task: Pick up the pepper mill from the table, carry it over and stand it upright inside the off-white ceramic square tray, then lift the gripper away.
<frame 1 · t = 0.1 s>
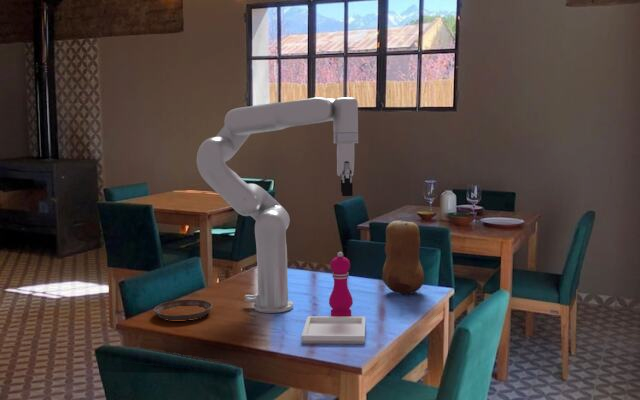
hand: (346, 193, 206), 37 cm above the table, tool pointing down, fingers open, 9 cm apart
plant saucer: (183, 316, 208), on the table
butternut squash: (403, 293, 228), on the table
pepper mill: (341, 316, 204), on the table
tray: (334, 333, 188), on the table
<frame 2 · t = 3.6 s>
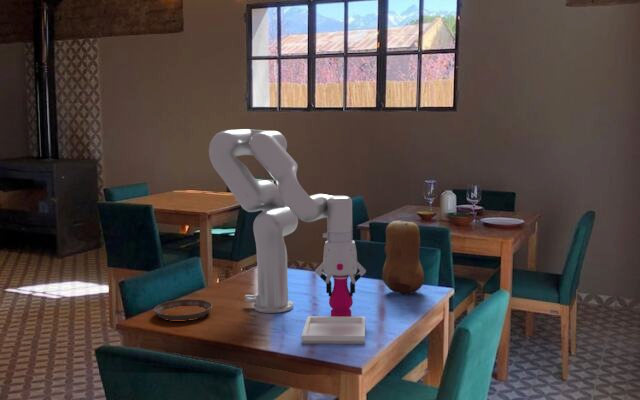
hand: (340, 294, 203), 7 cm above the table, tool pointing down, fingers closed on pepper mill, 5 cm apart
pepper mill: (341, 316, 204), on the table, touching gripper
everything else where it was.
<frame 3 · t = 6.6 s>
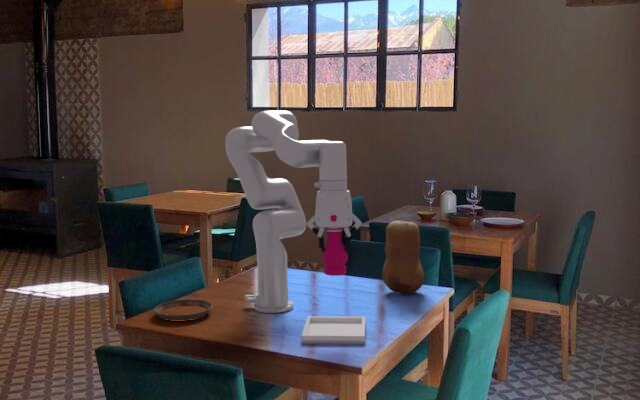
hand: (334, 249, 186), 24 cm above the table, tool pointing down, fingers closed on pepper mill, 5 cm apart
pepper mill: (335, 273, 187), point 17 cm above the table, touching gripper
everything else where it was.
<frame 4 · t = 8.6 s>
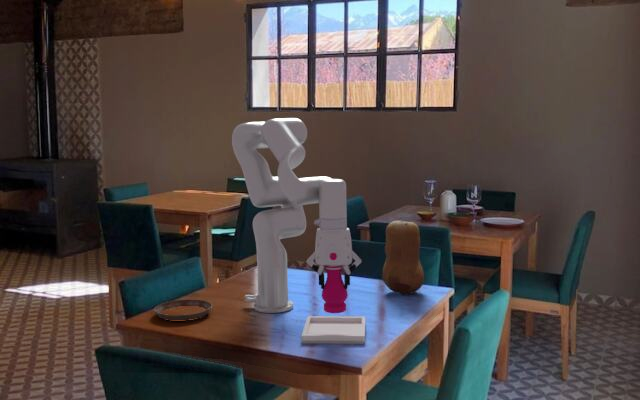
hand: (334, 287, 186), 13 cm above the table, tool pointing down, fingers closed on pepper mill, 5 cm apart
pepper mill: (335, 310, 187), point 7 cm above the table, touching gripper
everything else where it was.
when the fingers open (9 cm above the table, at t = 10.0 s): pepper mill drops 1 cm, resting on tray.
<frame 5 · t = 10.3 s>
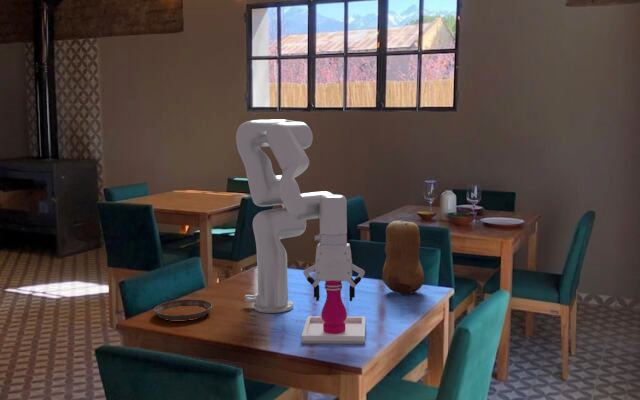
hand: (334, 299, 187), 10 cm above the table, tool pointing down, fingers open, 9 cm apart
pepper mill: (334, 330, 188), point 1 cm above the table, touching tray
everything else where it was.
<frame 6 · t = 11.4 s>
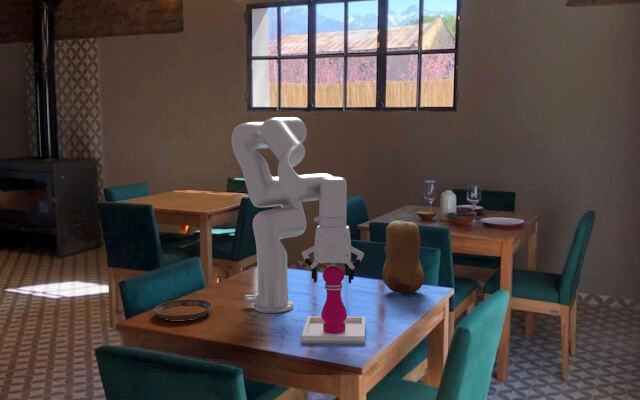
hand: (332, 281, 187), 15 cm above the table, tool pointing down, fingers open, 9 cm apart
nothing on the table moved.
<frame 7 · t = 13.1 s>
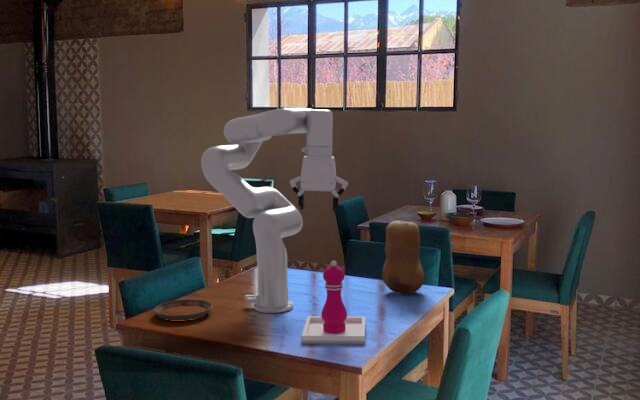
hand: (318, 209, 198), 33 cm above the table, tool pointing down, fingers open, 9 cm apart
nothing on the table moved.
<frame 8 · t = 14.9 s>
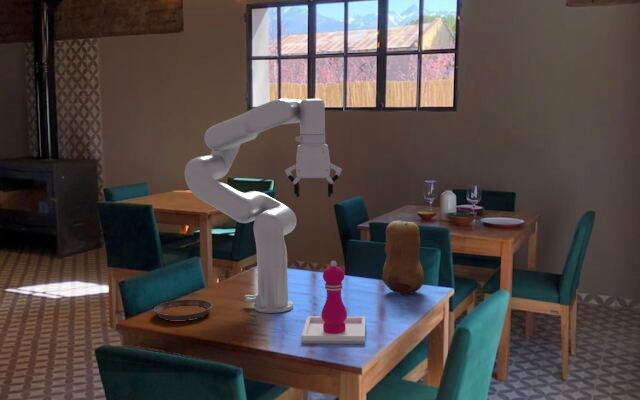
hand: (313, 196, 204), 36 cm above the table, tool pointing down, fingers open, 9 cm apart
nothing on the table moved.
at the end: pepper mill inside the target area on the tray (0.2 cm from its centre), point 0.6 cm above the tray's base; pepper mill tilted 0°; the gripper is holding nothing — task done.
